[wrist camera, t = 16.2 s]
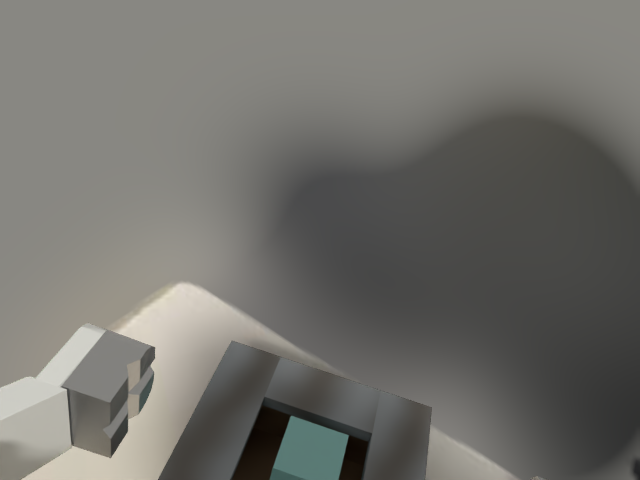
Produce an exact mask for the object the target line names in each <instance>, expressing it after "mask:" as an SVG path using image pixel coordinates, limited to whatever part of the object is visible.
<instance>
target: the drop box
mask: <svg viewBox="0 0 640 480" xmlns="http://www.w3.org/2000/svg"><path fill="white" fill-rule="evenodd" d="M431 411H432V407H429V406H426V405H423V404H420V403H417V402H414V401H411V400H407V399H405V398H402V397H399V396H396V395H393V394H390V393H387V392H384V391H381V390H378V389H375V388H372V387H369V386H366V385H363V384H360V383H357V382H354V381H351V380H348V379H345V378H342V377H339V376H336V375H333V374H330V373H327V372H324V371H321V370H318V369H315V368H312V367H309V366H306V365H304V364H301V363H298V362H295V361H292V360H289V359H286V358H283V357H280V356H277V355H274V354H271V353H268V352H265V351H262V350H259V349H256V348H253V347H250V346H247V345H244V344H241V343H238V342H235V341H231V343H230V345H229V347H228V349H227V351H226V352H225V354H224V356H223V358H222V360H221V362H220V364H219V366H218V368H217V369H216V371H215V373H214V375H213V377H212V379H211V381H210V383H209V384H208V386H207V388H206V390H205V392H204V394H203V396H202V398H201V400H200V401H199V403H198V405H197V407H196V409H195V411H194V413H193V415H192V417H191V418H190V420H189V422H188V424H187V426H186V428H185V430H184V432H183V433H182V435H181V437H180V439H179V441H178V443H177V445H176V447H175V449H174V450H173V452H172V454H171V456H170V458H169V460H168V462H167V464H166V466H165V467H164V469H163V471H162V473H161V475H160V477H159V479H158V480H270V476H271V473H272V469H273V466H274V463H275V460H276V457H277V454H278V452H279V449H280V446H281V443H282V440H283V437H284V434H285V432H286V429H287V426H288V423H289V420H290V417H291V416H294V417H297V418H300V419H302V420H305V421H308V422H311V423H314V424H317V425H320V426H323V427H326V428H329V429H332V430H335V431H338V432H340V433H343V434H346V435H349V437H348V441H347V445H346V449H345V454H344V458H343V462H342V467H341V471H340V475H339V479H338V480H425V475H426V464H427V454H428V443H429V432H430V422H431Z"/></svg>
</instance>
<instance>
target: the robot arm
mask: <svg viewBox="0 0 640 480" xmlns="http://www.w3.org/2000/svg"><path fill="white" fill-rule="evenodd" d="M154 359H155V347H153V346H150V345H147V344H145V343H142V342H139V341H136V340H134V339H131V338H128V337H126V336H123V335H120V334H118V333H115V332H112V331H109V330H107V329H104V328H101V327H98V326H95V325H92V324H89V323H87V324H85V325H83V326H82V327H80V328H79V329H78V330H77V331H76V332H75V334H74V335H73V336H72V337H71V338H70V339H69V340H68V342H67V343H66V344H65V345H64V346H63V347H62V348H61V350H60V351H59V352H58V353H57V354H56V355H55V356H54V358H53V359H52V360H51V361H50V362H49V363H48V364H47V365H46V366H45V368H44V369H43V370H42V371H41V372H40V373H39V374H38V376H37V377H36V378H33V377H30V376H27V377H25V378H23V379H21V380H18V381H15V382H13V383H10V384H8V385H6V386H3V387H1V388H0V480H21V479H22V478H24V477H26V476H27V475H29V474H31V473H32V472H34V471H35V470H37V469H39V468H40V467H42V466H43V465H45V464H47V463H48V462H50V461H52V460H53V459H55V458H56V457H58V456H60V455H61V454H63V453H64V452H66V451H68V450H69V449H71V448H72V446H75V447H78V448H81V449H84V450H87V451H90V452H93V453H97V454H100V455H103V456H106V457H109V458H111V457H112V455H113V454H114V452H115V451H116V449H117V448H118V446H119V444H120V443H121V441H122V440H123V438H124V437H125V435H126V433H127V432H128V419H130V418H132V417H134V416H136V415H138V414H139V413H140V411H141V409H142V408H143V406H144V404H145V403H146V400H147V398H148V396H149V393H150V391H151V388H152V384H153V380H154V371H153V370H152V368H151V367H150V365H151V363H152V362H153V360H154ZM530 480H548V479H545V478H542V477H539V476H536V477H533V478H531V479H530Z"/></svg>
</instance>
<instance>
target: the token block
mask: <svg viewBox="0 0 640 480" xmlns="http://www.w3.org/2000/svg"><path fill="white" fill-rule="evenodd" d="M348 437H349V435H346V434H343V433H340V432H338V431H335V430H332V429H329V428H326V427H323V426H320V425H317V424H314V423H311V422H308V421H305V420H302V419H300V418H297V417H294V416H291V417H290V420H289V423H288V426H287V429H286V432H285V434H284V437H283V440H282V443H281V446H280V449H279V452H278V454H277V457H276V460H275V463H274V466H273V469H272V473H271V476H270V480H338V479H339V475H340V471H341V467H342V462H343V458H344V454H345V449H346V445H347V441H348Z"/></svg>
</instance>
